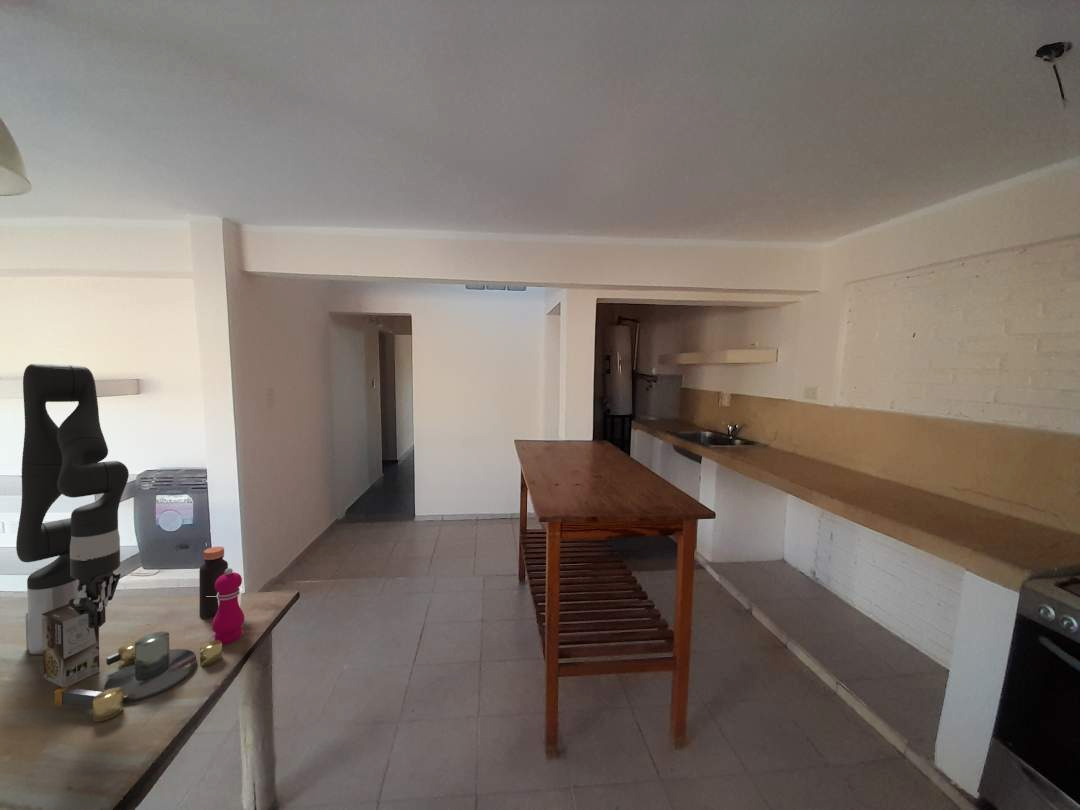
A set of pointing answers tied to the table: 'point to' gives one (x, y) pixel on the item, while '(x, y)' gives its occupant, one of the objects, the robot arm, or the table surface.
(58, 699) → the brass head mallet
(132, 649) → the base
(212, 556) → the bottle
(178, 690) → the table surface
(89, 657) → the coffee box
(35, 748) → the table surface
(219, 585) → the pepper mill
